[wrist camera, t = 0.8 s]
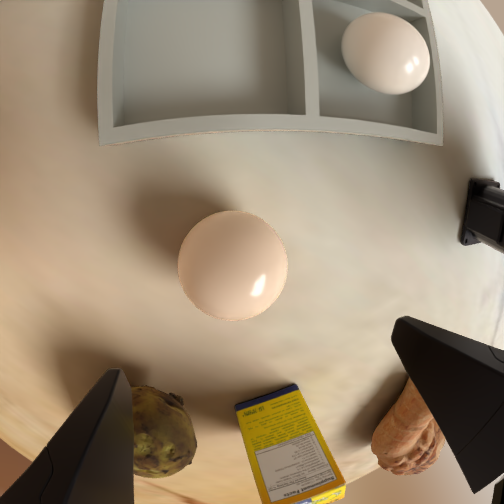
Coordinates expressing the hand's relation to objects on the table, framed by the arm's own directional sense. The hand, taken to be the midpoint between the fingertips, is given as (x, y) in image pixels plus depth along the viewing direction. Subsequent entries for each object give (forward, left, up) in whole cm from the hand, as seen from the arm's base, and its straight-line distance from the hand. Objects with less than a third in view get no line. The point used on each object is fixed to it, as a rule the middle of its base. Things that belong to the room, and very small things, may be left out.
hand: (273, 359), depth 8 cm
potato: (+9, +13, -10) cm, 19 cm away
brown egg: (0, 0, -9) cm, 9 cm away
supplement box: (-3, +17, -10) cm, 20 cm away
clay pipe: (-23, +29, -10) cm, 38 cm away
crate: (-4, -16, -9) cm, 19 cm away
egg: (-8, -11, -9) cm, 17 cm away
